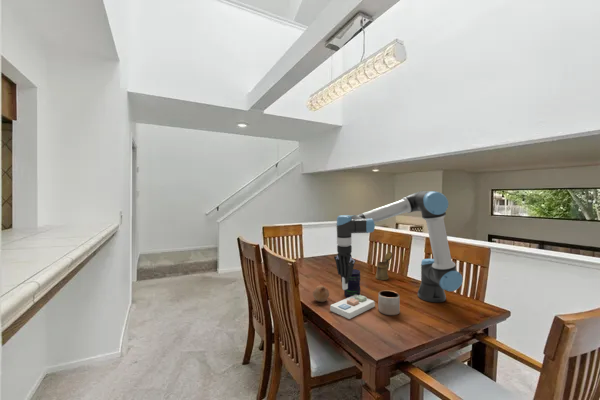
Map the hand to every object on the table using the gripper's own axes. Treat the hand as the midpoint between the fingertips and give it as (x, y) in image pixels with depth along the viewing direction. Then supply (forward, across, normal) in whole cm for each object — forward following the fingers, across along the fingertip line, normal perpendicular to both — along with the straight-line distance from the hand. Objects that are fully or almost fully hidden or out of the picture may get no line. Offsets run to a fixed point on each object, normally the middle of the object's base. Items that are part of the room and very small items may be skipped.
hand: (345, 288), depth 149 cm
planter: (+13, -15, -18) cm, 27 cm away
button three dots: (+12, 0, -7) cm, 13 cm away
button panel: (+13, 0, -7) cm, 14 cm away
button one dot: (+13, 0, 0) cm, 13 cm away
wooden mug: (+14, +17, -64) cm, 68 cm away
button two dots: (+12, 0, -14) cm, 18 cm away
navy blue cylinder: (+13, +12, -21) cm, 28 cm away
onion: (+13, +19, -1) cm, 23 cm away
